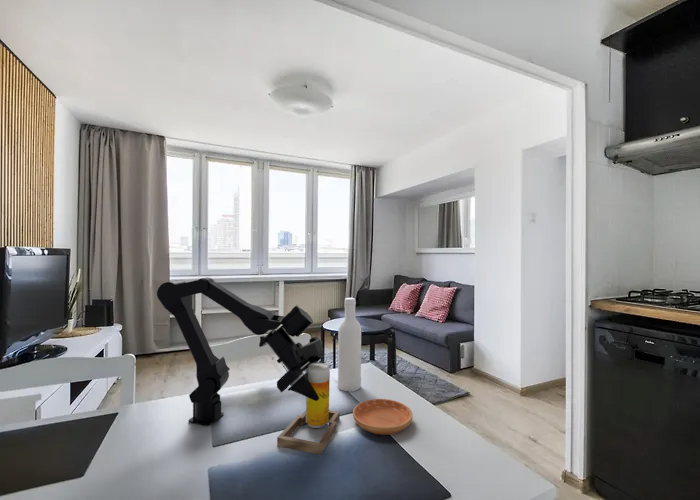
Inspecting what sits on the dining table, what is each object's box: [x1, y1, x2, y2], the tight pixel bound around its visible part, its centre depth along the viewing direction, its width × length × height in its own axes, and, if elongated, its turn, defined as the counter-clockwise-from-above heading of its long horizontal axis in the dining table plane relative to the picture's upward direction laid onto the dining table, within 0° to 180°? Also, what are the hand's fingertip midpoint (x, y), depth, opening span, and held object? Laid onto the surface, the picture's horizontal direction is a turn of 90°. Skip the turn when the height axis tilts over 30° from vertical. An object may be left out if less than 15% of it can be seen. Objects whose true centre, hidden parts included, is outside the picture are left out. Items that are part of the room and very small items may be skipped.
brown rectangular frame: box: [276, 409, 341, 455], centre depth 83 cm, size 11×16×2 cm
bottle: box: [337, 297, 362, 392], centre depth 111 cm, size 8×8×30 cm
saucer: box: [352, 398, 414, 436], centre depth 88 cm, size 16×16×3 cm
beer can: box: [305, 362, 331, 429], centre depth 86 cm, size 6×6×15 cm
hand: (322, 394), depth 86 cm, fingers closed on beer can, 6 cm apart
